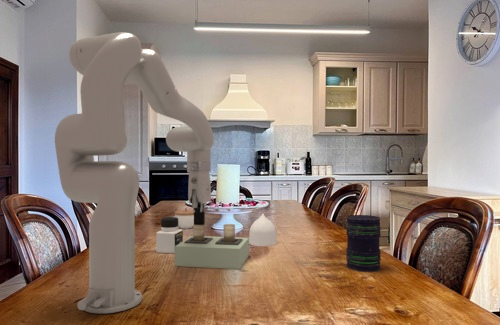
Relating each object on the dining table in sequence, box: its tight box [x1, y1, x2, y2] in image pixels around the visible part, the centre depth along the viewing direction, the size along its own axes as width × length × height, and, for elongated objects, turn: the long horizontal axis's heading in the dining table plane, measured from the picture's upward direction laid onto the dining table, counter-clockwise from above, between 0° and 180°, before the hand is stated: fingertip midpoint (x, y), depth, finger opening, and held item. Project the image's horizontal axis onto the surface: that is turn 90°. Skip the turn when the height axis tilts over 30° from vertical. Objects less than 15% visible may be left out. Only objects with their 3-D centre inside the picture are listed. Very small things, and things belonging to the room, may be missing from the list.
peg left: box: [192, 224, 206, 242], centre depth 118 cm, size 4×4×6 cm
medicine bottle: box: [155, 216, 184, 254], centre depth 130 cm, size 7×7×12 cm
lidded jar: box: [174, 207, 194, 230], centre depth 176 cm, size 11×11×9 cm
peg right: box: [223, 223, 236, 243], centre depth 116 cm, size 4×4×6 cm
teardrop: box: [248, 212, 278, 247], centre depth 142 cm, size 11×11×12 cm
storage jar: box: [345, 214, 382, 273], centre depth 109 cm, size 10×10×15 cm
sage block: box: [174, 235, 250, 270], centre depth 117 cm, size 16×20×6 cm
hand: (199, 224), depth 118 cm, fingers closed
